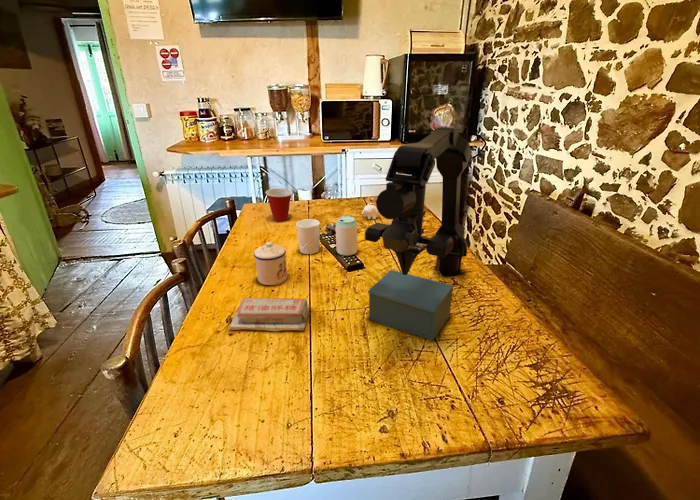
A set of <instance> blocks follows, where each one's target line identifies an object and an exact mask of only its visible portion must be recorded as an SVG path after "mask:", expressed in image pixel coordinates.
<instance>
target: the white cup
mask: <svg viewBox="0 0 700 500" xmlns="http://www.w3.org/2000/svg"><path fill="white" fill-rule="evenodd" d="M295 226H296V227H295V228H296V235H297V242H298V248H299V249H298V250H299V252H300V253H301V254H304V255H313V254H314V255H315V254H317V253H319V251H320V241H321V240H320V239H321V222H320V221H319V220H318V219H314V218H305V219H301V220H298V221H296V223H295Z"/></svg>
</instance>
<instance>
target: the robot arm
mask: <svg viewBox="0 0 700 500" xmlns="http://www.w3.org/2000/svg"><path fill="white" fill-rule="evenodd" d="M471 156H472V148H471V145H470V142H469V140H468V139H466V138H465V137H463V135H461V134H460V133H459V130H458V129H457V128H454V127H444V126H438V127H435V128H434V130H433V132H431V133H430V134H429V135H427V136H426V137H424V138H423V139H422V140H420V141H419V142H416V143H413V142H412V143H405V144H402V145H401V144H400V145H399V147H398V148H397V149H396V150H395V152H394V154H393V157H392V159H391V162H390V165H389V167H388V170H387V173H386V177H385V181H386V182H387V183H386V184H385V185H386V186H385V189H384V190H382V191H381V192H380V193H379V194H378V195H377V198H376V200H375V207H376V208H377V210H378V214H379V215H380V216H382V217H383V218H384V219H387V220H391V223H390V224H387V223H383V222H382V223H381V222H376V223H373V224H372V225H369V226H368V227H367V228H366V229H365V231H364V240H365V241H369V242H373V243H377V242H378V241H380V240H381V238H382V244H383V249H385V250H391V251H392V252H394V254H395V256H396V258H397V261H398V264H399V268H400V270H401V273H402V274H403V275H407V274H409V272H410V270H411V268H412V266H413V264H414V263H415V261H416V258H417V257H418V255H420V254H421V253H423V251H425V250H426V252H427V254H428V255H431V256H434V257H436V258H435V259H436V260H435V265H434V269H436V270H437V271H438V273H439V274H440V275H441V276H442V277H450V276H458V275H463V273H464V272H463V270H461V267H462V261H463V260H462V259H463V258H464V257H467V255H468V247H469V246H468V243H467V240H466V238H465V230H464V228H463V226H462V225H461V223H460V206H461V205H460V202H461V183H462V174H463V172H464V171H465V169H467V167H468V165H469V162H470V160H471ZM435 166H436V169H437V171H438V173H439V174H440V176H441V177H442V184H441V185H442V186H441V187H442V188H441V190H442V191H441V224H440V226H439V228H438V229H437V231H435V234H434V235H432V236H431V237H427V236H422V235H423V234H424V231H425V229H424V228H423V223H424V217H425V216H426V210H425V200H426V188H427V184H428V182H429V180H430V178H431V175H432V173H433V170H434V168H435Z"/></svg>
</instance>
